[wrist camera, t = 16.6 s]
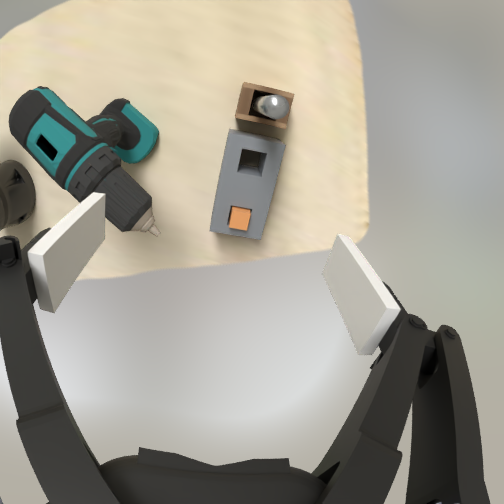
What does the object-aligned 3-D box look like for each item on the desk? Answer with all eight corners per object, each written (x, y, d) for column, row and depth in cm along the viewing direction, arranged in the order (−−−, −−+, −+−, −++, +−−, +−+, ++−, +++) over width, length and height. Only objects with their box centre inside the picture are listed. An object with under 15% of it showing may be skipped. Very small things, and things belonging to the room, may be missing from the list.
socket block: (211, 215, 56) (209, 231, 50) (229, 128, 48) (229, 132, 42) (257, 223, 58) (260, 239, 52) (278, 139, 50) (285, 145, 44)
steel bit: (250, 110, 47) (261, 115, 31) (254, 95, 46) (266, 92, 30) (267, 114, 48) (286, 121, 32) (271, 98, 46) (292, 98, 30)
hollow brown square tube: (235, 116, 47) (235, 117, 42) (242, 84, 44) (244, 82, 39) (279, 125, 49) (285, 128, 43) (287, 94, 46) (294, 93, 41)
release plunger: (229, 209, 55) (228, 227, 48) (232, 195, 54) (232, 210, 47) (244, 212, 56) (246, 230, 49) (247, 198, 54) (250, 214, 48)
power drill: (201, 164, 51) (179, 217, 30) (169, 198, 54) (132, 270, 32) (102, 78, 41) (19, 75, 19) (74, 115, 44) (-12, 139, 22)
